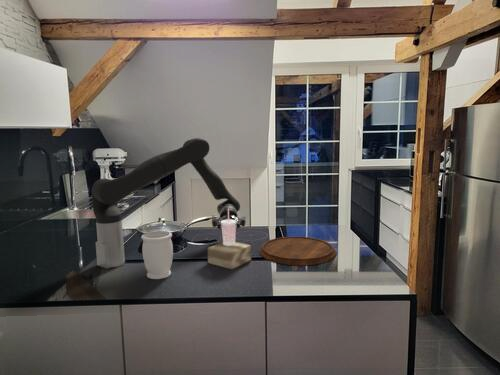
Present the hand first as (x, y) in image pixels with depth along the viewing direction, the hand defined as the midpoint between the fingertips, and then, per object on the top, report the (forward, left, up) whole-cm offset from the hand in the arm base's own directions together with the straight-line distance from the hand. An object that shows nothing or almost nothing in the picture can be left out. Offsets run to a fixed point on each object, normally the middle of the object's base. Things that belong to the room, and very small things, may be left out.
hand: (228, 226), depth 141 cm
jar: (-23, +14, -15) cm, 31 cm away
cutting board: (+27, -14, -15) cm, 34 cm away
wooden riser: (+2, +2, -15) cm, 15 cm away
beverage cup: (+2, +2, -8) cm, 8 cm away
